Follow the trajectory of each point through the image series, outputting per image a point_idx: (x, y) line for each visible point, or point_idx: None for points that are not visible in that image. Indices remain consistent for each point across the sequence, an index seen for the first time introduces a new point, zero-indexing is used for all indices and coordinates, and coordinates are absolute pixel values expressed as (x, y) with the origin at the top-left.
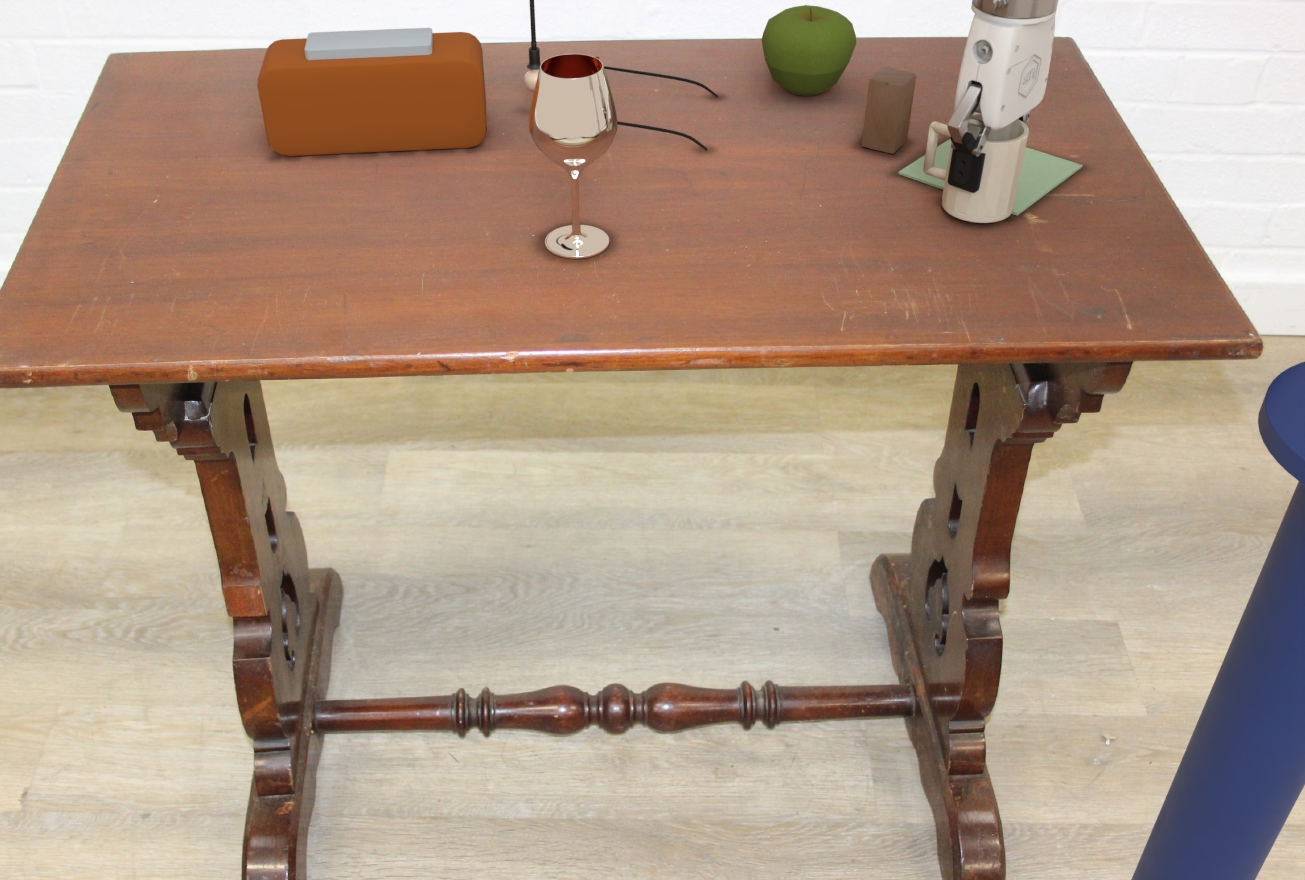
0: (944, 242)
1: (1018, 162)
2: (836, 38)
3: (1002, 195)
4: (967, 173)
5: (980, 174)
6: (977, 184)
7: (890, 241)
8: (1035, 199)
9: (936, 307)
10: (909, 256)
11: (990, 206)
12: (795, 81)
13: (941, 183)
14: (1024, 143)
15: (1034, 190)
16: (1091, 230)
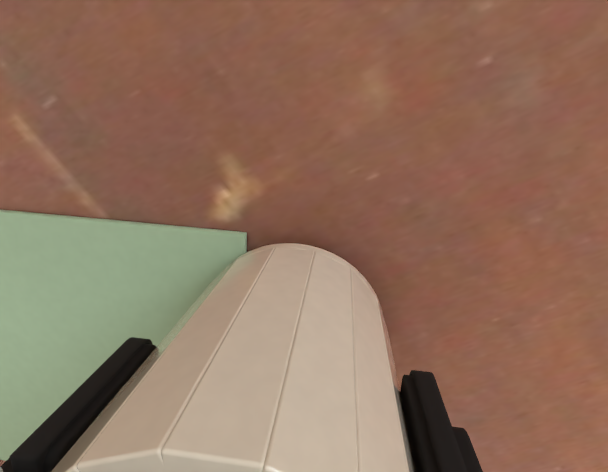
0: (482, 321)
1: (269, 343)
2: None
3: (339, 293)
4: (481, 470)
5: (440, 425)
6: (439, 394)
7: (542, 416)
8: (149, 227)
9: None
10: (597, 360)
11: (366, 298)
12: None
13: None
14: (213, 411)
15: (111, 247)
16: (184, 25)
